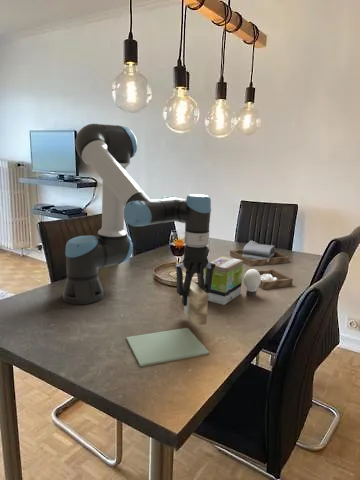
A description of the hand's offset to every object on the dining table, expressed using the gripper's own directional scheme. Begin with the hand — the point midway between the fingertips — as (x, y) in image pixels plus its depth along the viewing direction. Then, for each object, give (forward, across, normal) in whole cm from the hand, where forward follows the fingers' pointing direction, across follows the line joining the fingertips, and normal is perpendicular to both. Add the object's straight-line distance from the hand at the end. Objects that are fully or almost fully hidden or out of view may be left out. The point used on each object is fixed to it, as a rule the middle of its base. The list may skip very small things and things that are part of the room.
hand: (192, 313), depth 122 cm
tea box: (+5, +21, +19) cm, 29 cm away
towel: (+4, +66, +63) cm, 92 cm away
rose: (+5, +48, +28) cm, 55 cm away
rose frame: (+4, +49, +29) cm, 58 cm away
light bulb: (+4, +33, +17) cm, 38 cm away
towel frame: (+5, +66, +63) cm, 92 cm away
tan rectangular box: (+1, 0, 0) cm, 1 cm away
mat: (+4, -13, -11) cm, 17 cm away
